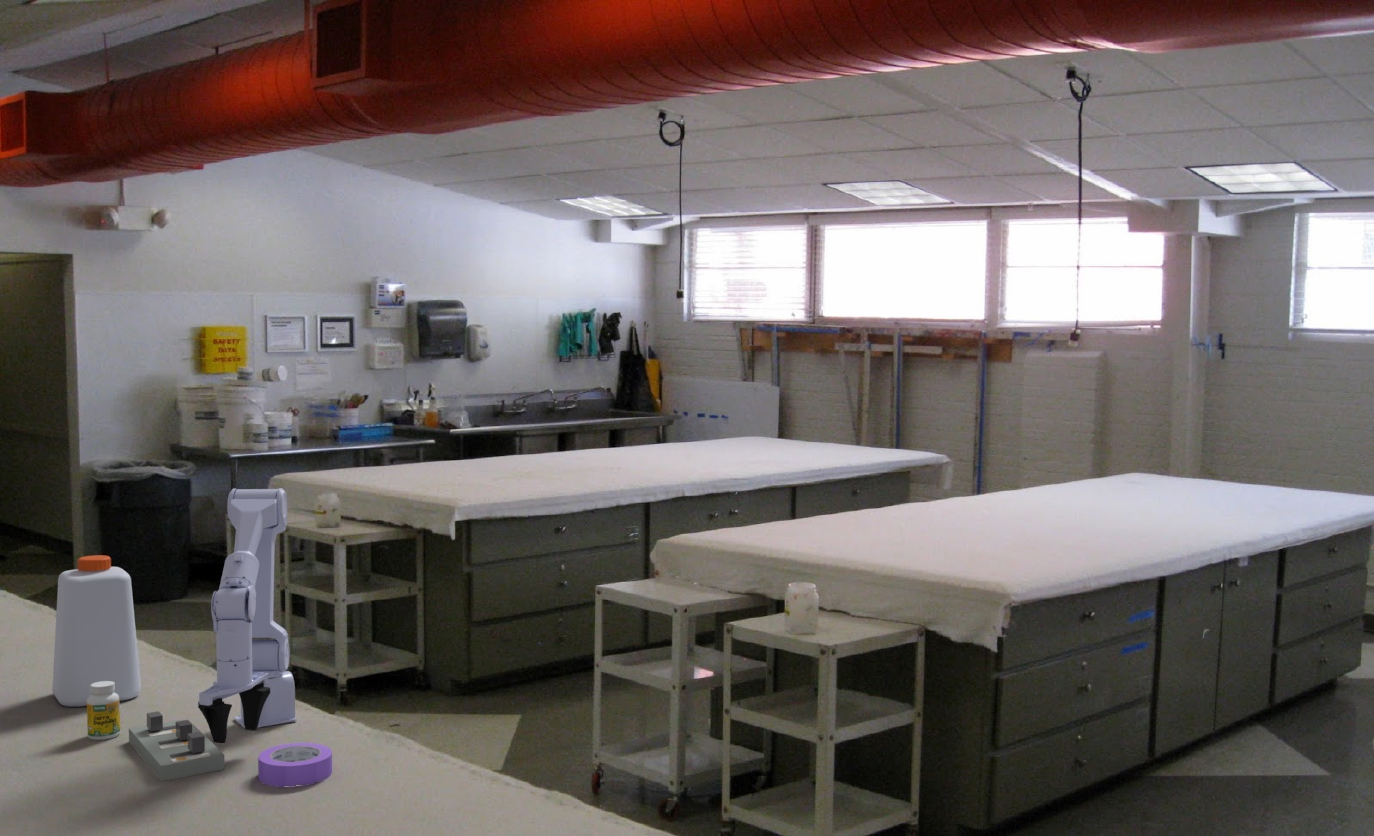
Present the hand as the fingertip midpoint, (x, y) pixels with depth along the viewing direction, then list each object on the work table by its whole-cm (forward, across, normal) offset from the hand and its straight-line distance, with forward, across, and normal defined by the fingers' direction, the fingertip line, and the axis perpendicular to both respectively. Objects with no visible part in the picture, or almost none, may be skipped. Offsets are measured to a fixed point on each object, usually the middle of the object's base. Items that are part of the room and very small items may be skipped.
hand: (235, 735), depth 217 cm
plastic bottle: (+4, -19, -52) cm, 55 cm away
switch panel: (+4, +2, -11) cm, 12 cm away
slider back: (+1, 0, -19) cm, 19 cm away
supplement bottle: (+4, 0, -30) cm, 31 cm away
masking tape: (+5, +2, +14) cm, 15 cm away
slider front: (+1, +6, -3) cm, 7 cm away
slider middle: (+1, +1, -10) cm, 10 cm away
